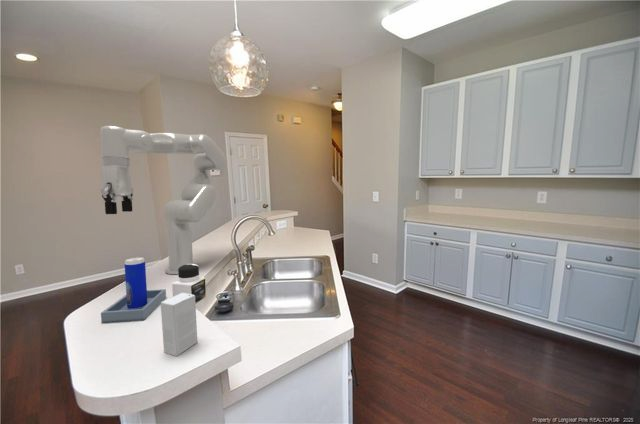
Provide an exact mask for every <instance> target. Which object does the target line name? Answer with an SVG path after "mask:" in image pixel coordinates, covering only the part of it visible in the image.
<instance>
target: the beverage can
mask: <svg viewBox="0 0 640 424" xmlns="http://www.w3.org/2000/svg"><path fill="white" fill-rule="evenodd" d="M123 265H124V279H125V291H126V292H125V293H126V294H125V295H126V296H127V308H128V309H130V310H135V309H141V308H143V307H144V306H145V305H147V290H148V288H147V273H146V271H147V268H146V260H145V258H144V257H143V256H136V257H131V258H127V259H125V261H124V264H123Z"/></svg>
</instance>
